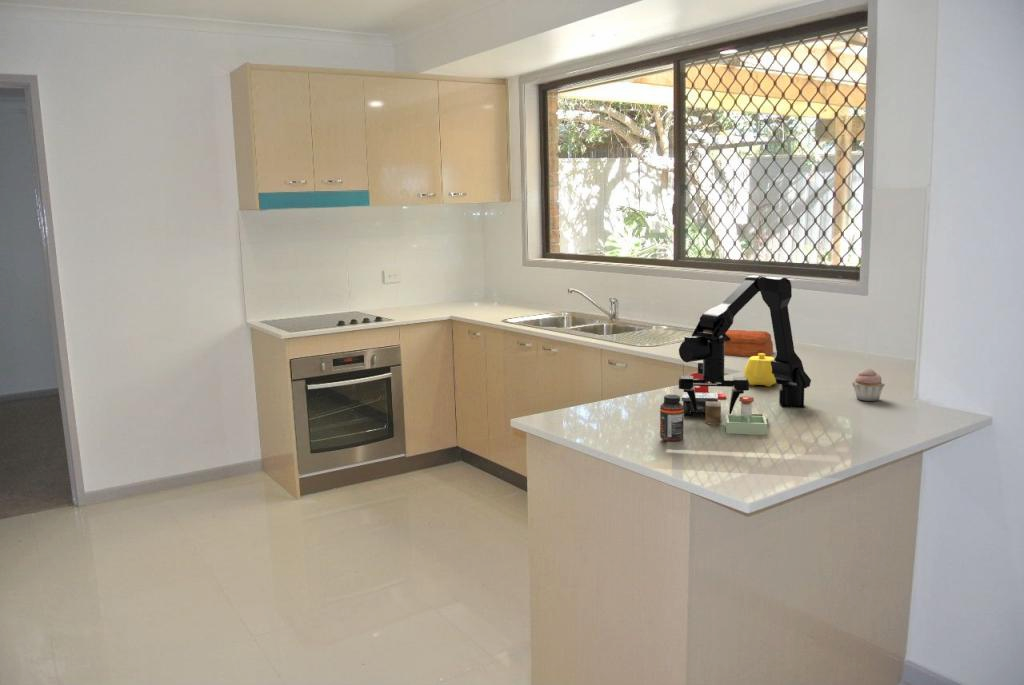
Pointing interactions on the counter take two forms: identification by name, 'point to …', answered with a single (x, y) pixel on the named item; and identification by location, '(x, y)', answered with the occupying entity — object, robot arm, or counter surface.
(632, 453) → the counter surface
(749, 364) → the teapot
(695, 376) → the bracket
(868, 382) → the cupcake
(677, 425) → the supplement bottle
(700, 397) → the trolley
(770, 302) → the robot arm
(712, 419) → the block
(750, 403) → the pin
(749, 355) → the bread
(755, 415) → the pin socket
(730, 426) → the tray
